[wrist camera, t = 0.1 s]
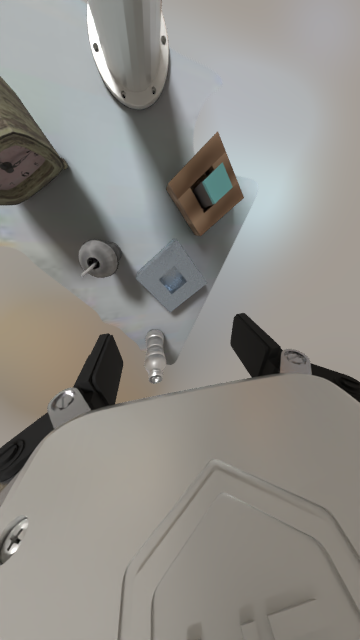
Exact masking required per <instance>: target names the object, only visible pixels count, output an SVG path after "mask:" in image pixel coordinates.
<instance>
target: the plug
mask: <svg viewBox="0 0 360 640" xmlns="http://www.w3.org/2000/svg"><path fill="white" fill-rule="evenodd" d="M232 187H233V186H232V184H231V181H230V179H229V177H228V174H227V172H226V169H225V167H224V165H223V162H222V163H221V164H220V165H219V166H218V167H217V168H216V169H215V170H214V171H212V172H211V173H210V174H209V175H208V176H207V177H206V178H205V179H204V180H203V181H202V182H201V183H200V184H199V185H198V186H197V187H196V188H195V189H194V190H193V191H192V192H193V194H194V195H195V197H196V199H197V201H198V203H199V205H200V206H201V208H205V207H207V206H210V205H213V204H215V203H216V202H217V201H218V200H219V199H221V198H222V197H223V196H224V195H225V194H226V193H227V192H228V191H229V190H230V189H231V188H232Z"/></svg>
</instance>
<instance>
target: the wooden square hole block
mask: <svg viewBox="0 0 360 640" xmlns="http://www.w3.org/2000/svg"><path fill="white" fill-rule="evenodd" d="M222 162H223V165H224V167H225V169H226V172H227V174H228V177H229V179H230V181H231V184H232V186H233V187H232V188H231V189H230V190H229V191H228V192H227V193H226V194H225V195H224V196H223V197H222V198H221V199H219V200H218V201H217V202H216V203H215V204H213V205H210V206H207V207H205V208H201V206H200V205H199V203H198V201H197V199H196V197H195V195H194V194H193V192H192V191H193V190H194V189H195V188H196V187H197V186H198V185H199V184H200V183H201V182H202V181H203V180H204V179H205V178H206V177H207V176H208V175H209V174H210V173H211V172H212V171H214V170H215V169H216V168H217V167H218V166H219V165H220V164H221V163H222ZM166 190H167V192H168V193H169V195H170V196H171V198H172V200H173V201H174V203H175V204H176V206H177V208H178V209H179V211H180V212H181V214H182V215H183V217H184V219H185V220H186V222H187V223H188V225H189V227H190V228H191V230H192V231H193V233H194V235H197V236H201V235H202V234H204V233H205V232H206V231H207V230H208V229H209V228H210V227H212V226H213V225H214V224H215V223H216V222H217V221H218V220H219V219H221V218H222V217H223V216H224V215H225V214H226V213H227V212H228V211H230V210H231V209H232V208H233V207H234V206H235V205H236V204H237V203H239V202H240V201H241V200H242V199H243V198H244V197H243V194H242V192H241V189H240V187H239V184H238V182H237V179H236V176H235V174H234V171H233V169H232V166H231V164H230V161H229V159H228V156H227V154H226V151H225V148H224V146H223V143H222V141H221V138H220V136H219V133H218V132H217V133H216V134H215V135H214V136H213V137H212V138H211V139H210V140H209V141H208V142H207V143H206V144H205V145H204V146H203V147H202V148H201V149H200V151H199V152H198V153H197V154H196V155H195V156H194V157H193V158H192V159H191V160H190V161H189V162H188V163H187V164H186V165H185V166H184V167H183V168H182V169H181V170H180V171H179V172H178V174H177V175H176V176H175V177H174V178H173V179H172V180H171V181H170V182H169V183H168V185H167V188H166Z"/></svg>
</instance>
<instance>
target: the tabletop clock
mask: <svg viewBox="0 0 360 640" xmlns="http://www.w3.org/2000/svg"><path fill="white" fill-rule="evenodd" d="M67 167H68V165H67V163H66V161H65V160H64V159H62V158H60V156H59V155H58V154H57V152H56V151H55V149H54V148H53V146H52V145H51V144H50V142H49V141H48V139H47V138H46V136H45V135H44V133H43V132H42V131H41V129H40V128H39V126H38V125H37V123H36V122H35V121H34V119H33V118H32V116H31V115H30V113H29V112H28V110H27V109H26V108H25V106H24V105H23V103H22V102H21V100H20V99H19V98H18V96H17V95H16V93H15V92H14V91H13V90H12V89H11V88H10V87H9V85H8V84H7V83H6V82H5V81H4V80H3V79H2V78H1V77H0V205H17V204H19V203H21V202H23V201H25V200H28V199H29V198H30V197H31V196H33V195H34V194H35V193H37V192H38V191H39V190H41V189H42V188H43V187H45V186H46V185H47V184H48V183H49V182H50V181H51V180H53V179H54V178H55V177H56V176H57V175H58V174H59V173H60V172H61V171H62V169H67Z"/></svg>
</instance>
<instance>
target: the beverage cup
mask: <svg viewBox="0 0 360 640" xmlns="http://www.w3.org/2000/svg"><path fill="white" fill-rule="evenodd" d="M78 257H79V262H80V264H81V266H82V268H83V269H84V270H85V271H84V272H83V273H82V274H81V275H80V277H84V276H85V275H86V274H87V273H89V274H90V275H92V276H95V277H99V278H104V277H108V276H111V275H113V274H114V273H115V272H116V270H117V269H118V265H119V260H120V257H121V250H120V248H119V246H118V245H117V244H115V243H113V242H104V241H101V240H95V239H93V240H89V241H87V242H86V243H84V244H83V245H82V247H81V249H80V250H79V256H78Z"/></svg>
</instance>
